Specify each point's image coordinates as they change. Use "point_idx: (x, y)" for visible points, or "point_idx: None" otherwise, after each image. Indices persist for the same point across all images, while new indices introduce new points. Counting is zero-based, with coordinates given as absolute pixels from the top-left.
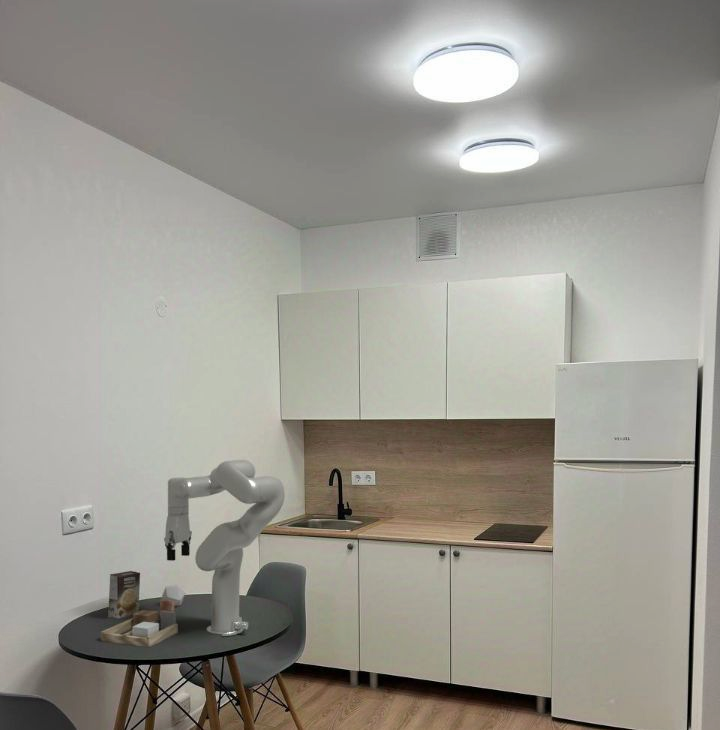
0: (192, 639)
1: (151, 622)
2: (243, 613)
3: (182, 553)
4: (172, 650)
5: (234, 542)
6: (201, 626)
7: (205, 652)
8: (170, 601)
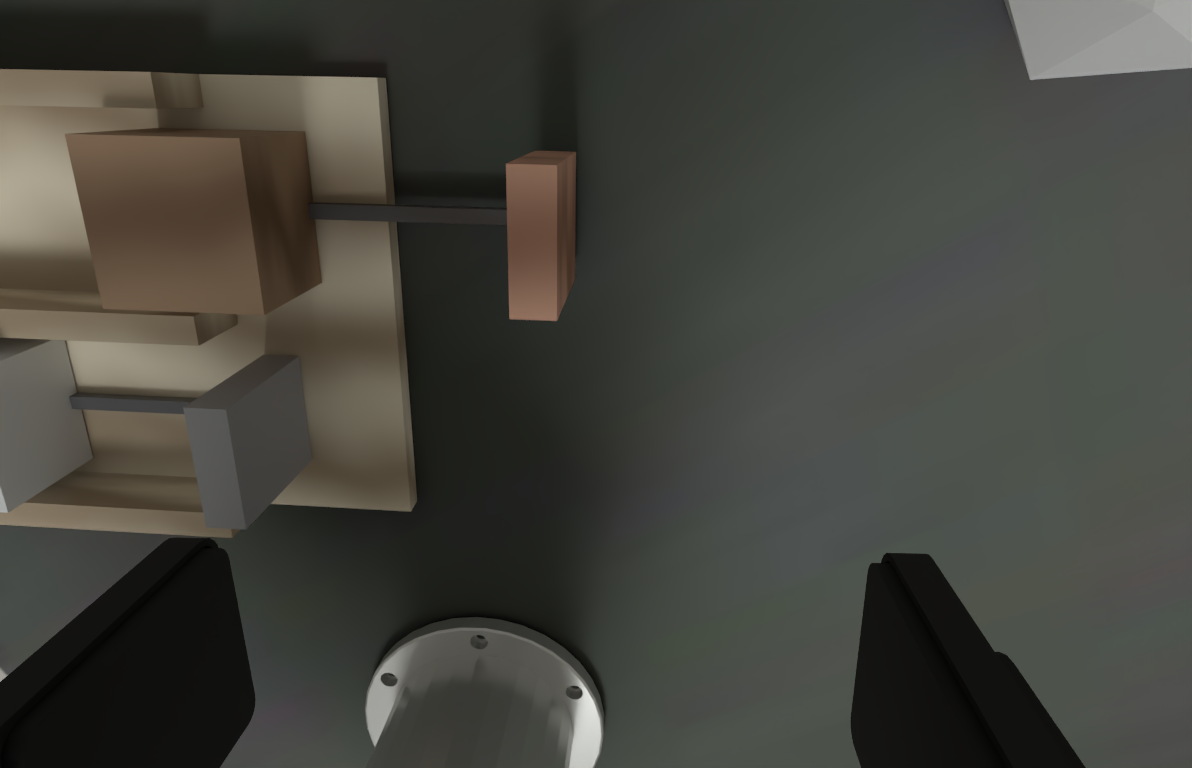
0: (265, 607)
1: (153, 329)
2: None
3: (882, 617)
4: (51, 594)
5: None
6: (524, 539)
7: None
8: (526, 291)
